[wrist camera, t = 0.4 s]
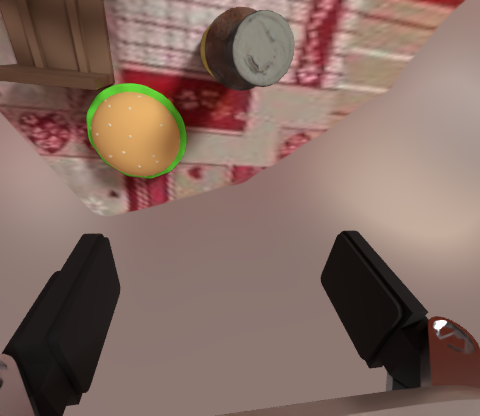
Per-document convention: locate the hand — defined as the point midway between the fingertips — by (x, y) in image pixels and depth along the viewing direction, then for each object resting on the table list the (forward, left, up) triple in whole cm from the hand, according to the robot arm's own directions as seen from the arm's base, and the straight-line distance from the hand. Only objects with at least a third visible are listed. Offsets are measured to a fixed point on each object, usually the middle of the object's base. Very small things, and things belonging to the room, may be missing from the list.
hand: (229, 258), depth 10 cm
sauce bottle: (-7, +2, -30) cm, 31 cm away
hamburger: (+3, -9, -30) cm, 31 cm away
